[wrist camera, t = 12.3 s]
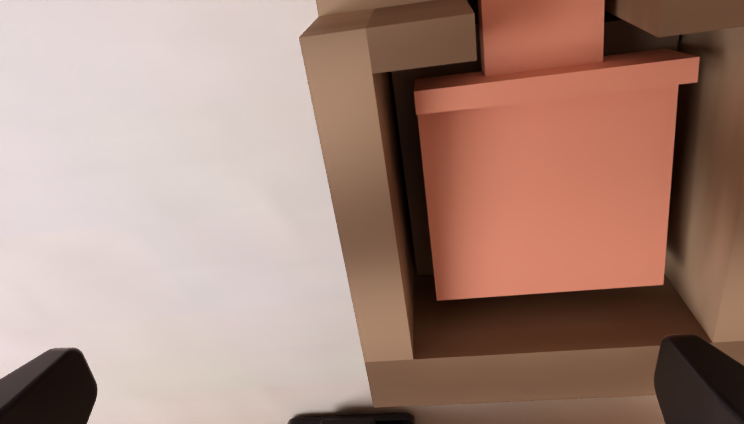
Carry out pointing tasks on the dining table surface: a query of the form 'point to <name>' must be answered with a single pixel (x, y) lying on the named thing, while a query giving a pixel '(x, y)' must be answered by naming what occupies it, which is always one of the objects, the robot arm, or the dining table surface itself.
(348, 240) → the brown wooden lever base
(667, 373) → the robot arm
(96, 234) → the dining table surface
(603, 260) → the lever
